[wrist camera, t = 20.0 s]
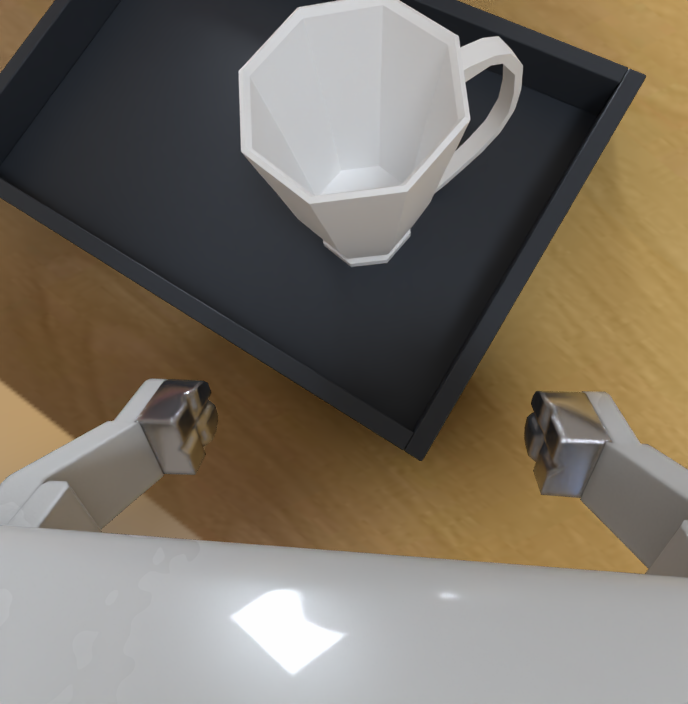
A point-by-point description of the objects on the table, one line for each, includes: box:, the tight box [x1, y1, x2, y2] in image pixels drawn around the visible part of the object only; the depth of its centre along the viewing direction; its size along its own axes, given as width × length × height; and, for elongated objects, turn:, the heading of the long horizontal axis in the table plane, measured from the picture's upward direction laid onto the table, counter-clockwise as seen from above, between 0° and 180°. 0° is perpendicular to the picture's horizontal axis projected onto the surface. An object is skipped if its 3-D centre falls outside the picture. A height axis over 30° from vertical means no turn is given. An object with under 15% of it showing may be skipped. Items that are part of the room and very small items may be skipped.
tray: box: [0, 0, 646, 461], centre depth 20 cm, size 28×19×3 cm
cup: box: [239, 0, 523, 267], centre depth 16 cm, size 7×10×8 cm
